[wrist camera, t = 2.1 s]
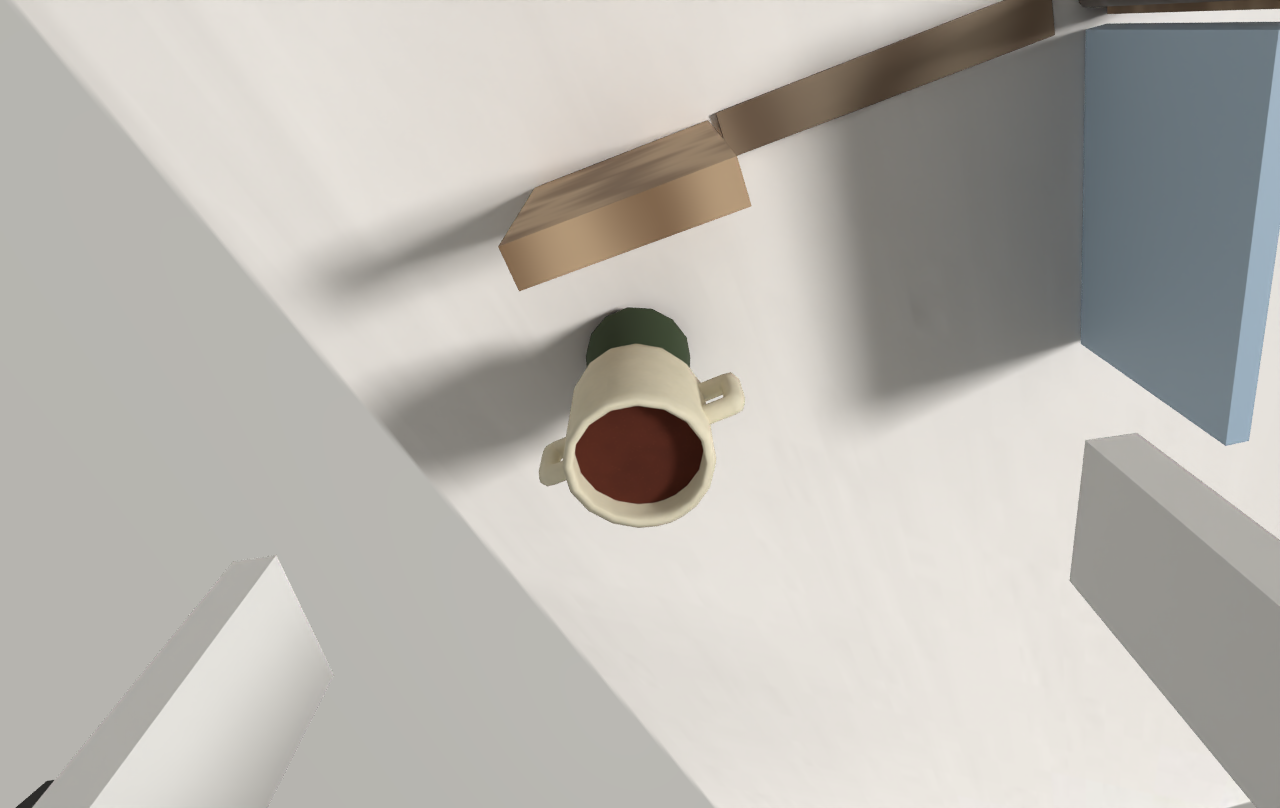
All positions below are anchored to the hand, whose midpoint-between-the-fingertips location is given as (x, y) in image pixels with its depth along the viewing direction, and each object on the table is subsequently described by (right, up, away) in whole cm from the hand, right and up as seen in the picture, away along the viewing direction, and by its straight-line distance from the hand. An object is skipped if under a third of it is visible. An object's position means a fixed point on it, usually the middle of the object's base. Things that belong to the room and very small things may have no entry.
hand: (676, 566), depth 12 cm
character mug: (-1, +6, +32) cm, 33 cm away
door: (+25, +14, +27) cm, 40 cm away
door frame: (+9, +19, +25) cm, 33 cm away
